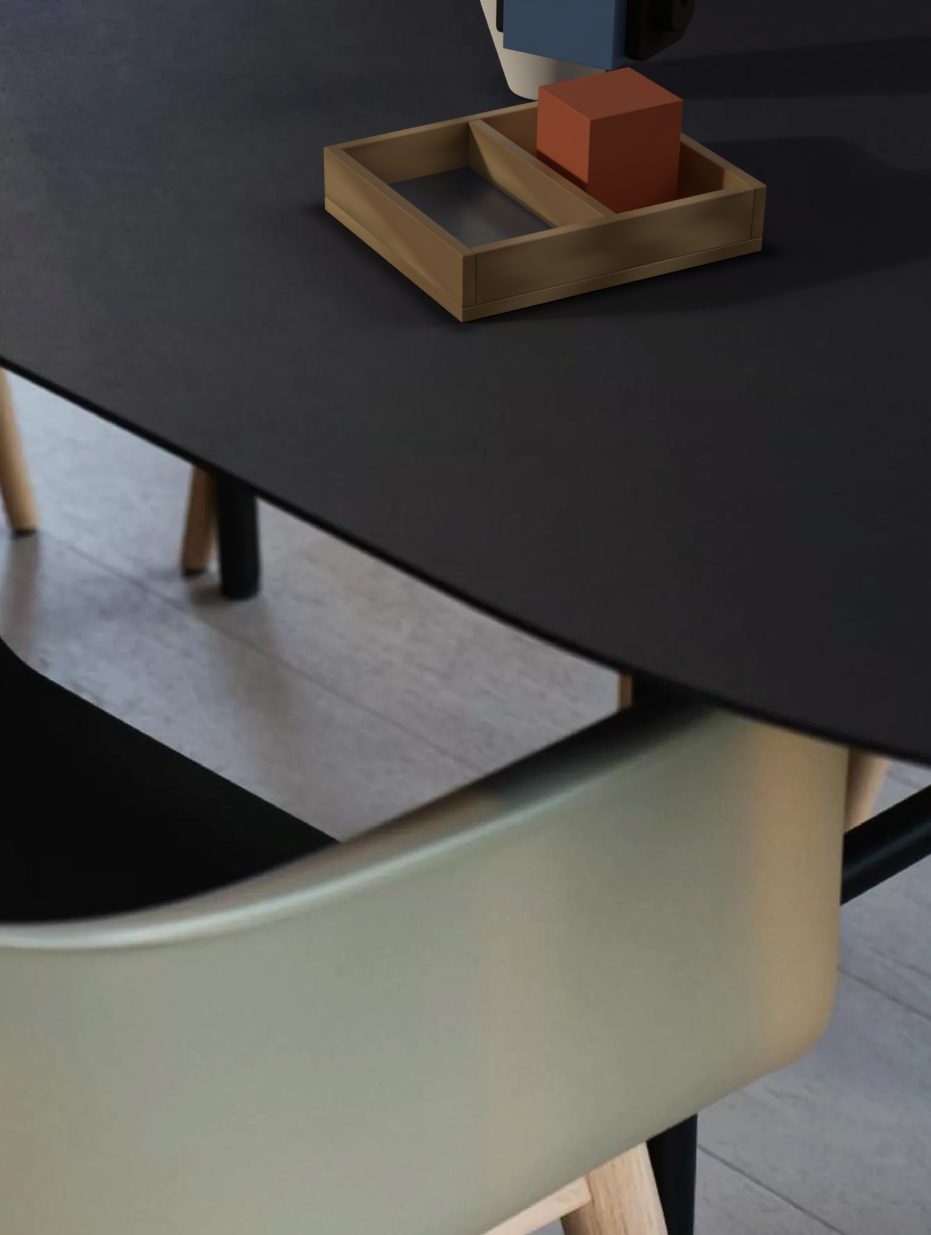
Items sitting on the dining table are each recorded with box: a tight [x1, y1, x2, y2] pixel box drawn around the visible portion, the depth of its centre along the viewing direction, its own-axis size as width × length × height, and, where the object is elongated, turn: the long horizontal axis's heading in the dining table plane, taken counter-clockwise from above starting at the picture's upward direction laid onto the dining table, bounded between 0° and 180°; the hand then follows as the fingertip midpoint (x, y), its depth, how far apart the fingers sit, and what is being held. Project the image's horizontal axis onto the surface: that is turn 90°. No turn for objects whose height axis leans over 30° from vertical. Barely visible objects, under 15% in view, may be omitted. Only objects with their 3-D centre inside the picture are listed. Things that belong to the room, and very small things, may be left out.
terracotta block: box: [536, 66, 684, 214], centre depth 106 cm, size 4×4×4 cm
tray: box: [323, 100, 768, 323], centre depth 106 cm, size 14×13×3 cm
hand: (590, 29), depth 86 cm, fingers closed on blue block, 4 cm apart
